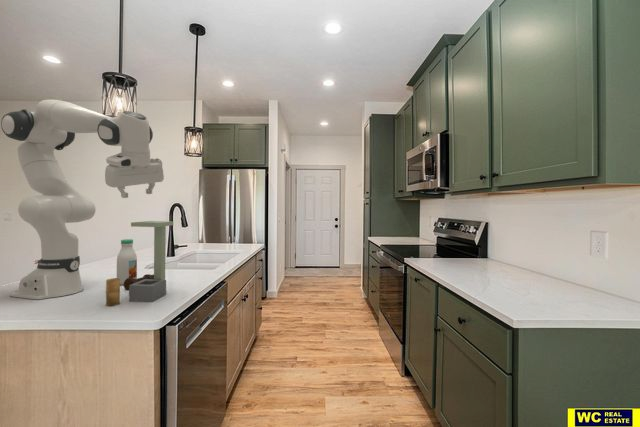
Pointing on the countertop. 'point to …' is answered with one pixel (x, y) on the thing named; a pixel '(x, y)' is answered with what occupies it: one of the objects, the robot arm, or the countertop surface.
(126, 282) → the bolt
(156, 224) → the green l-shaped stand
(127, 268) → the milk bottle
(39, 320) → the countertop surface
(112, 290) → the peg
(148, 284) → the socket
